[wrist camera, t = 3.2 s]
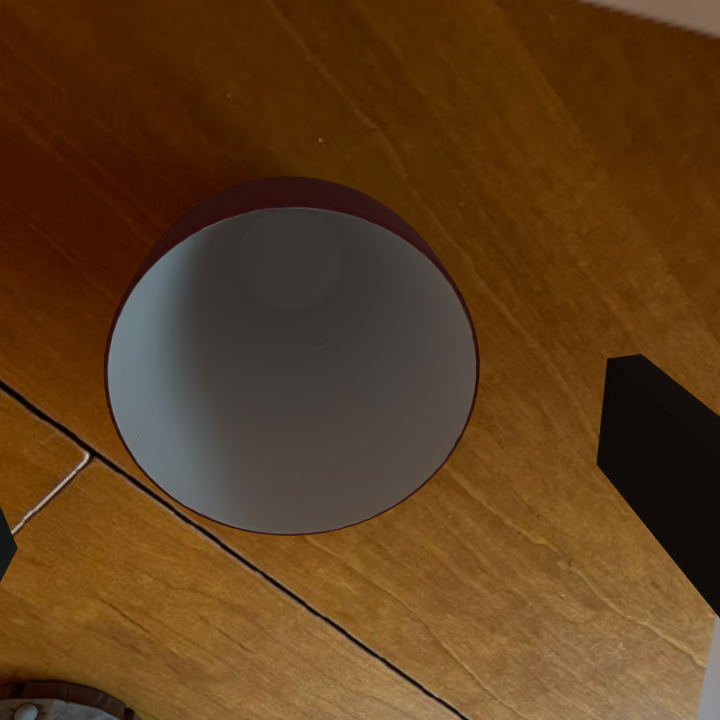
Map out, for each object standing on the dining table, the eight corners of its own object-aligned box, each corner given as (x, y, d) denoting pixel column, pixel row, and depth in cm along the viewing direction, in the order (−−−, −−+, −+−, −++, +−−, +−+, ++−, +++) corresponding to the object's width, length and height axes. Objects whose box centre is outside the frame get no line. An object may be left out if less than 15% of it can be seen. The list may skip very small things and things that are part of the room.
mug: (447, 370, 25) (540, 542, 16) (258, 439, 26) (248, 645, 17) (358, 101, 21) (420, 135, 12) (129, 191, 21) (19, 291, 12)
